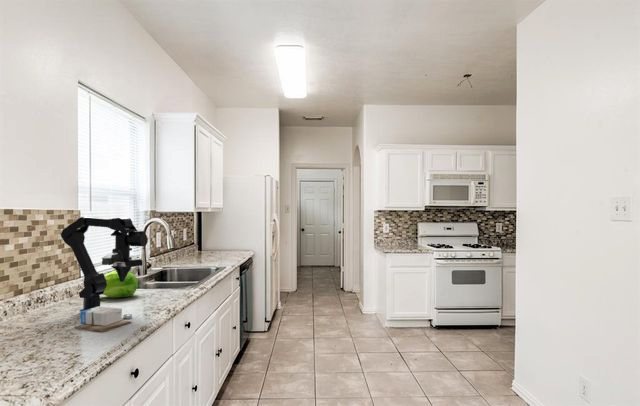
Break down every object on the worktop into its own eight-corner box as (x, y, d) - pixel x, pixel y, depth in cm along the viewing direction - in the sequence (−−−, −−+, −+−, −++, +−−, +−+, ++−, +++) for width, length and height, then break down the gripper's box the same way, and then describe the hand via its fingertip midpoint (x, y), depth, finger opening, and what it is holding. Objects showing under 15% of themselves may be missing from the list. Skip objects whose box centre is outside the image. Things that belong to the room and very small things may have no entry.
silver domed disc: (121, 319, 154) (121, 315, 154) (128, 317, 156) (128, 313, 157) (127, 319, 152) (127, 316, 152) (133, 317, 155) (133, 314, 155)
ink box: (79, 323, 143) (104, 326, 140) (80, 310, 143) (104, 313, 140) (98, 318, 152) (122, 320, 148) (99, 305, 152) (122, 308, 149)
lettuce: (86, 307, 181) (97, 303, 195) (135, 294, 186) (143, 292, 201) (81, 277, 182) (92, 276, 197) (130, 265, 188) (138, 265, 202)
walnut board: (74, 327, 141) (74, 326, 141) (105, 318, 153) (105, 317, 153) (101, 332, 136) (101, 330, 136) (131, 322, 148) (131, 321, 148)
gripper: (90, 246, 161) (90, 283, 161) (121, 248, 154) (120, 286, 154) (113, 244, 172) (113, 279, 171) (143, 246, 164) (143, 282, 164)
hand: (121, 281), depth 165 cm, fingers closed
